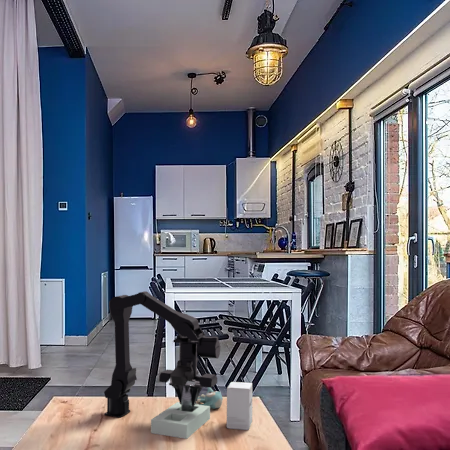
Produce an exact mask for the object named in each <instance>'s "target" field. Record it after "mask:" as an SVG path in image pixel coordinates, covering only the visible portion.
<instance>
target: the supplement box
mask: <svg viewBox="0 0 450 450" xmlns="http://www.w3.org/2000/svg"><path fill="white" fill-rule="evenodd" d="M252 423H253V382H241V381H240V382H239V381H231V382H230V383H229V385H228V386H227V387H226V429H232V430H233V429H234V430H242V431H243V430H245V431H249V430H250V429H251V425H252Z"/></svg>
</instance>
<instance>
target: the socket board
mask: <svg viewBox="0 0 450 450" xmlns="http://www.w3.org/2000/svg"><path fill="white" fill-rule="evenodd" d="M210 419H211V408H210V406H204V405H196V404H195V406H194V411H193V412H188V411H181V404H180V402H178V401H177V402H175V403H173V404H172V405H171V406H169V407H168V408H166V409H165V410H163V411H162V412H160V413H159V414H157V415H156V416H154V417H153V418H151V419H150V434H154V435H155V434H156V435H159V436H160V435H161V436H165V437H166V436H167V437H174V438H181V439H184V440H185V439H186V440H187V439H188V438H189V437H191V436H192V435H193V434H194V433H195V432H197V431H198V430H199V429H201V427H202V426H204V425H205V424H206V423H207V422H208V421H209V420H210Z"/></svg>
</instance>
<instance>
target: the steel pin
mask: <svg viewBox="0 0 450 450" xmlns="http://www.w3.org/2000/svg"><path fill="white" fill-rule="evenodd" d="M194 385H195V383H193V382H192V383H190V382H187V383H186V385H184V386H182V392H181V411H188V412H193V411H194V406H193V405H192V398H193V389H192V386H194Z"/></svg>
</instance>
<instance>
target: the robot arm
mask: <svg viewBox="0 0 450 450" xmlns="http://www.w3.org/2000/svg"><path fill="white" fill-rule="evenodd" d="M139 305H141V306H143V307H144V308H146V309H148V310H149V311H151V312H152V313H153V314H155V315H157V316H158V317H159V318H161V319H163V320H165V321H166V322H168V323H169V324H170V325H171V327H172V328H173V330H175V332H177V333H178V335H177V337H175V338H174V339H173V341H172V342H173V343H177V344H179V352H178V353H179V357H178V359H179V360H177V363H176V368H173V369H165V370H163V371H162V372H160V373H159V375H158V382H159V383H168V382H169V383H168V385H169V386H171V387H172V388H173V389H174V390H175V393H176V395H177V399H178V401H179V402H180V404H181V392H182V386H184V385H186V383H188V382H192V383H194V386H192V389H193V398H192V405H193V406H195V404H196V403H197V402H196V401H197V399H198V397H200V394H201V391H202V389H203V388H208V387H210V388H212V387H214V386H215V385H217V384H218V377H217V375H216V374H212V373H204V374H202V375H201V376H200V375H199V371H198V370H197V368H198V365H197V364H198V362H199V358H204V359H205V358H208V359H219V358H220V355H221V345H220V341H219V336H206V334H205V333H204V331H203V330H202V329H201V326H200V323H199V320H198V319H197V318H196V317H194V316H192V315H189V314H186V313H183V312H180V311H177V310H175V308H172V307H171V306H169V305H168V304H166V303H164V302H163V301H161V300H160V299H158V298H157V297H155V296H153V295H152V294H151V293H149V292H148V291H140V292H138V293H136V294H131V295H127V294H122V295H117V296H113V297H112V298H111V299H110V300H109V301H108V308H109V313H110V317H111V319H112V321H113V322H114V344H115V345H114V349H115V354H114V355H115V366H114V368H113V372H112V376H111V380H110V381H111V382H110V385H109V386H108V387H107V389H105V390H104V392H103V393H104V397H105V399H106V403H107V404H106V409H107V410H106V412H105V413H103V414H104V416H107V417H108V416H109V417H115V418H122V417H124V416H125V415H127V414H129V413H130V412H131V409H130V399H129V394H128V393H130V391H131V388H133V387H134V386H135V384H136V381H137V380H138V379H137V374H136V373H137V367H133V366H132V365H131V360H130V359H131V356H130V353H131V352H130V324H129V323H130V318H131V315H132V313H133V307H134V306H139ZM198 356H199V357H198Z"/></svg>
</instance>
